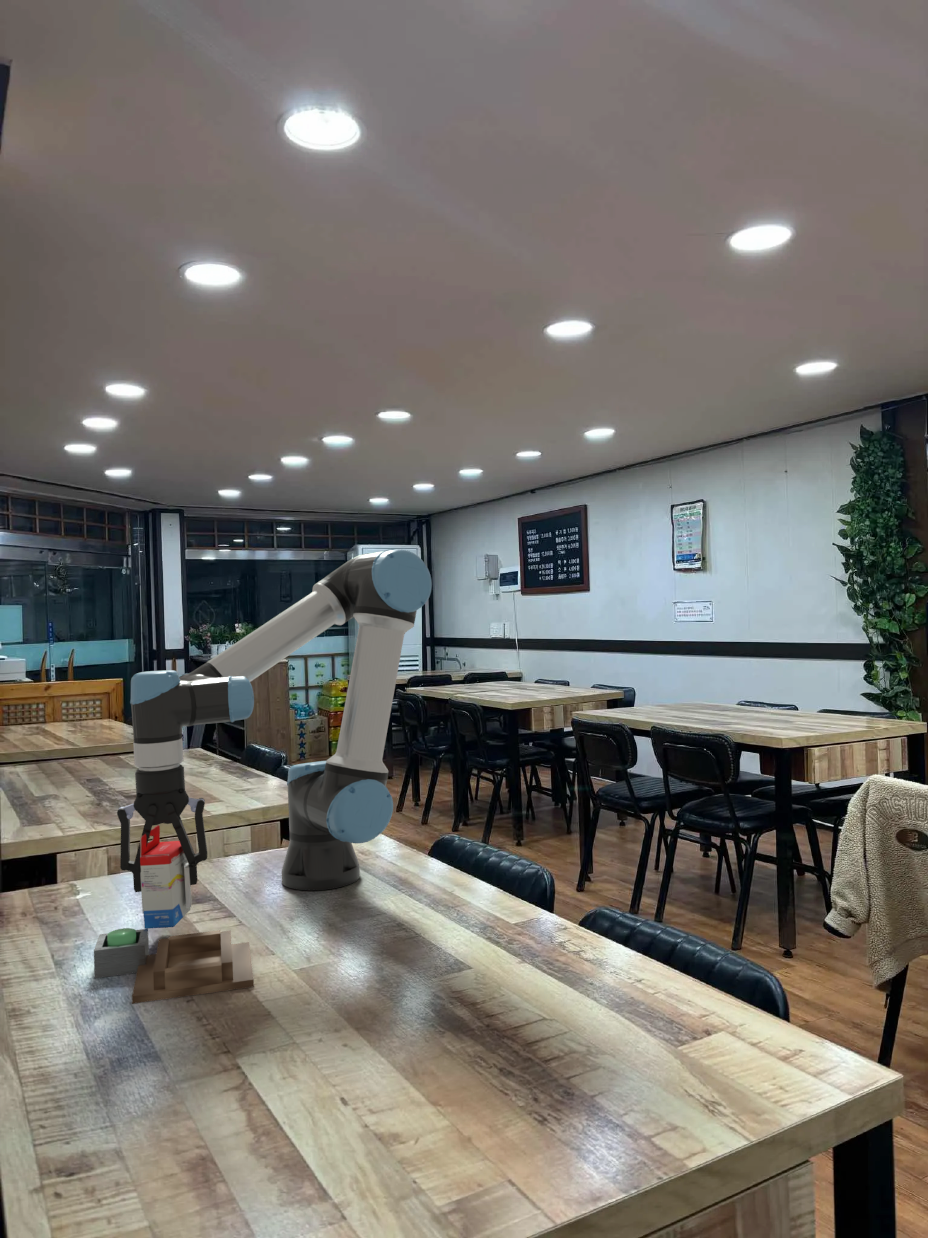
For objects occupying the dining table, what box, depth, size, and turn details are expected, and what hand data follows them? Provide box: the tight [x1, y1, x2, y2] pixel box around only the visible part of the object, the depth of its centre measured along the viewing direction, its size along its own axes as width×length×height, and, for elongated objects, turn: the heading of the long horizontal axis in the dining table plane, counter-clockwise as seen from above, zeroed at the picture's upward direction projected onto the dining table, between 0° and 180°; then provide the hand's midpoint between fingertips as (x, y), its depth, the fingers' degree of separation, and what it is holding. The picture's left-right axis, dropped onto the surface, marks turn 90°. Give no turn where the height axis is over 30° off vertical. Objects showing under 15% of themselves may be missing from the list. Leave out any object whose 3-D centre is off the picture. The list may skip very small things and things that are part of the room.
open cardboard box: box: [131, 929, 255, 1005], centre depth 129 cm, size 16×15×4 cm
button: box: [106, 927, 137, 947], centre depth 133 cm, size 4×4×3 cm
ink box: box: [139, 824, 191, 930], centre depth 144 cm, size 8×5×15 cm, turn 179°
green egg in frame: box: [93, 928, 150, 979], centre depth 133 cm, size 7×7×4 cm
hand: (167, 907), depth 145 cm, fingers closed on ink box, 6 cm apart
